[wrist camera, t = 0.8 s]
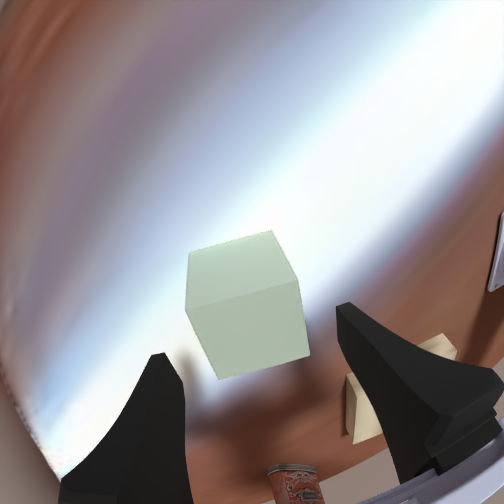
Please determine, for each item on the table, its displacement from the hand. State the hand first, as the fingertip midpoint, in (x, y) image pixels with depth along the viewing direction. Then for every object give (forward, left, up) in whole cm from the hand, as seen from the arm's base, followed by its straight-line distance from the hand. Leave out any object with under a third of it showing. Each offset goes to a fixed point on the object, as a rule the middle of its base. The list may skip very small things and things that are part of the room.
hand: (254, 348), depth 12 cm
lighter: (+1, +31, -6) cm, 32 cm away
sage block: (0, 0, -6) cm, 6 cm away
